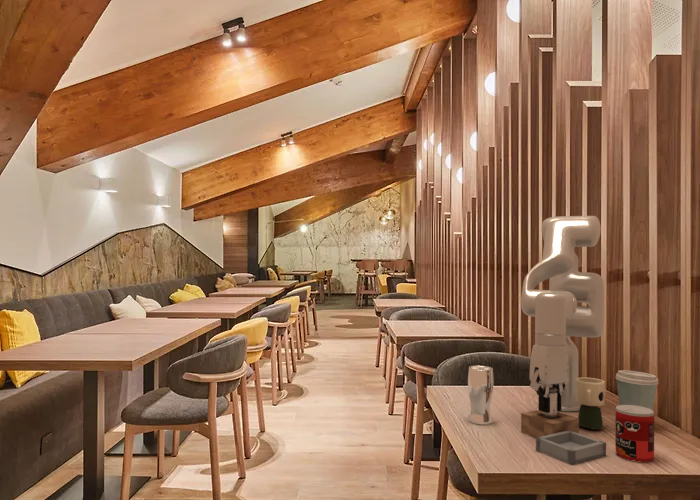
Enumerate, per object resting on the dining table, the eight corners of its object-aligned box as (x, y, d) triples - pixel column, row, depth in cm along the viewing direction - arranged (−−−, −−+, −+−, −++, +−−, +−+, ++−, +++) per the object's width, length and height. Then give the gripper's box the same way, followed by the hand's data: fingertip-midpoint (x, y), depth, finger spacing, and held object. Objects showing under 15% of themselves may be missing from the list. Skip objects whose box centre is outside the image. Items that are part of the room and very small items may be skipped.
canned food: (608, 450, 125) (608, 404, 126) (640, 450, 126) (640, 404, 126) (628, 463, 118) (628, 414, 118) (661, 462, 118) (661, 413, 119)
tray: (569, 442, 131) (569, 430, 131) (606, 455, 122) (606, 442, 122) (535, 450, 125) (536, 437, 125) (572, 464, 116) (572, 451, 116)
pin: (548, 430, 139) (548, 385, 139) (560, 434, 136) (560, 388, 136) (539, 433, 137) (539, 387, 137) (550, 437, 134) (550, 390, 134)
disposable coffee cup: (622, 417, 152) (622, 366, 152) (664, 426, 144) (664, 372, 145) (609, 425, 145) (609, 371, 145) (652, 435, 137) (652, 377, 137)
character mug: (603, 436, 136) (603, 385, 136) (573, 431, 140) (573, 382, 140) (606, 424, 146) (606, 377, 146) (578, 420, 149) (578, 374, 149)
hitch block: (546, 426, 143) (547, 408, 143) (578, 438, 134) (579, 418, 134) (521, 432, 138) (521, 413, 138) (552, 444, 129) (552, 423, 129)
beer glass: (493, 426, 143) (494, 371, 143) (467, 424, 144) (468, 369, 144) (492, 418, 150) (492, 366, 150) (467, 416, 151) (467, 364, 151)
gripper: (559, 335, 144) (559, 402, 144) (516, 340, 136) (516, 411, 136) (583, 339, 137) (583, 410, 137) (539, 344, 129) (539, 419, 129)
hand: (549, 409), depth 136 cm, fingers closed on pin, 3 cm apart
